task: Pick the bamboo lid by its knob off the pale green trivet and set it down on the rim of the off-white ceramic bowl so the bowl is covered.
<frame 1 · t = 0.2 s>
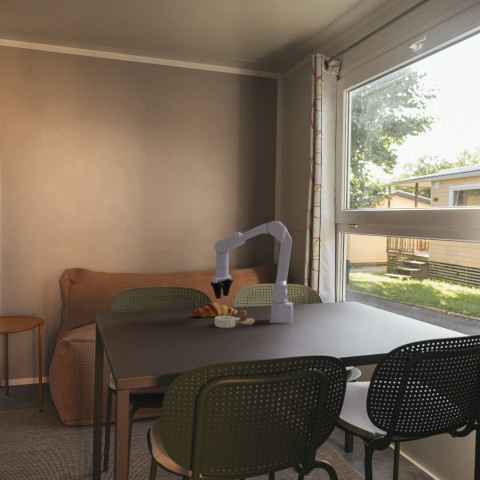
hand: (221, 297, 201), 10 cm above the table, fingers open, 7 cm apart
croissant: (215, 317, 207), on the table
trivet: (243, 322, 194), on the table
bowl: (225, 326, 187), on the table
lid: (243, 321, 194), resting on trivet
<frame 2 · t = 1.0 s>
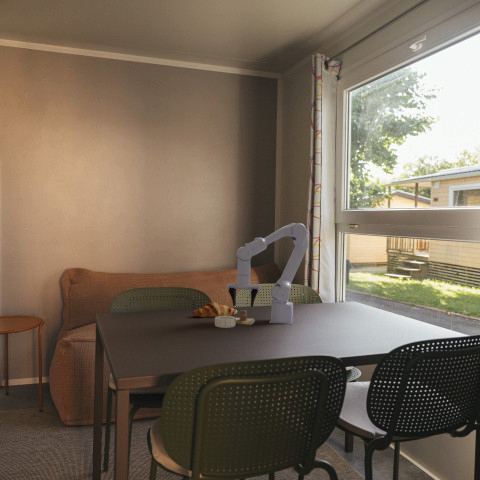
hand: (243, 306, 193), 7 cm above the table, fingers open, 7 cm apart
nothing on the table moved.
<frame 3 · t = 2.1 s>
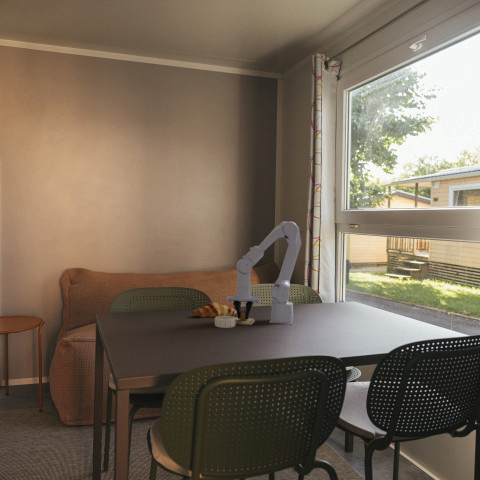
hand: (243, 318, 194), 2 cm above the table, fingers closed on lid, 3 cm apart
lid: (243, 321, 194), resting on trivet, touching gripper
everything else where it was.
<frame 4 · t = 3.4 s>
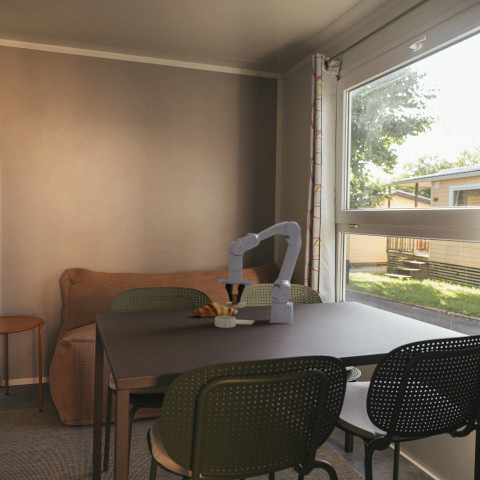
hand: (235, 301, 190), 10 cm above the table, fingers closed on lid, 3 cm apart
lid: (235, 305, 191), point 8 cm above the table, touching gripper
everything else where it was.
when the fingers open (6 cm above the table, at t = 4.6 s): lid stays where it is, resting on bowl.
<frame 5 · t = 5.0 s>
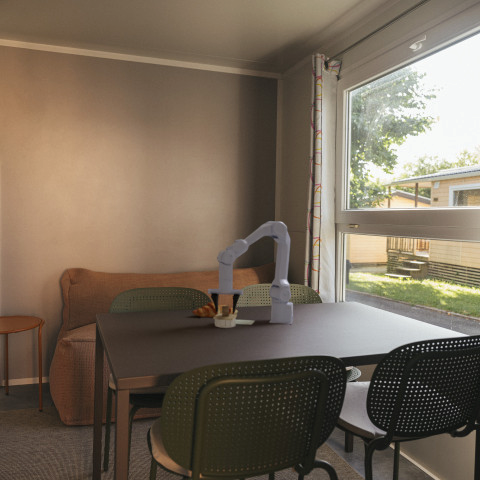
hand: (225, 311, 187), 6 cm above the table, fingers open, 6 cm apart
lid: (225, 317, 187), point 3 cm above the table, touching bowl
everything else where it was.
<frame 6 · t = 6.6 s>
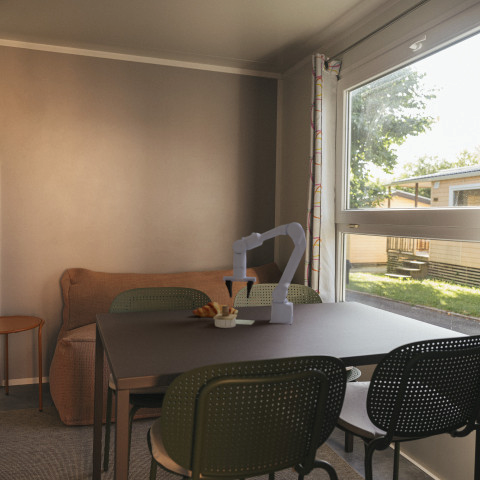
hand: (239, 297, 199), 10 cm above the table, fingers open, 7 cm apart
nothing on the table moved.
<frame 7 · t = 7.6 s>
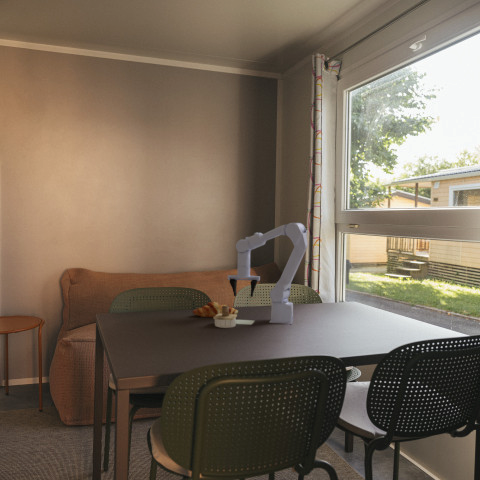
hand: (243, 296, 204), 10 cm above the table, fingers open, 7 cm apart
nothing on the table moved.
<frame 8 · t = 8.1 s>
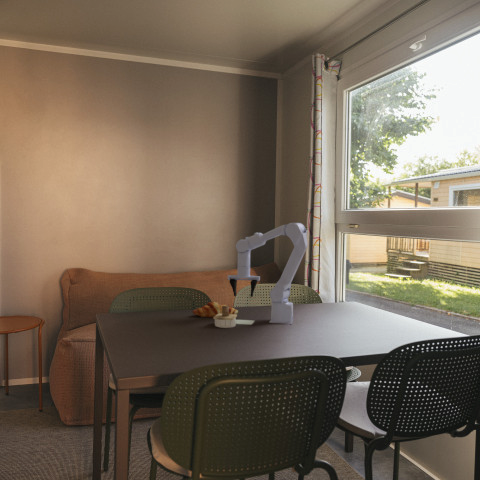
hand: (243, 296, 204), 10 cm above the table, fingers open, 7 cm apart
nothing on the table moved.
at the end: lid 0.2 cm off-centre on the bowl, point 3.5 cm above the bowl's base; lid tilted 0°; the gripper is holding nothing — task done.
